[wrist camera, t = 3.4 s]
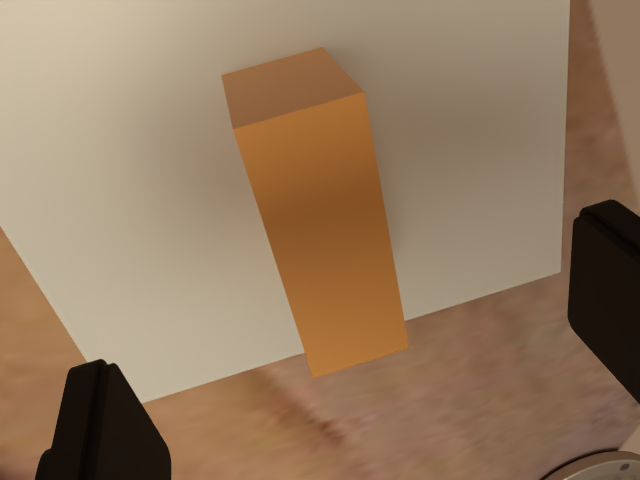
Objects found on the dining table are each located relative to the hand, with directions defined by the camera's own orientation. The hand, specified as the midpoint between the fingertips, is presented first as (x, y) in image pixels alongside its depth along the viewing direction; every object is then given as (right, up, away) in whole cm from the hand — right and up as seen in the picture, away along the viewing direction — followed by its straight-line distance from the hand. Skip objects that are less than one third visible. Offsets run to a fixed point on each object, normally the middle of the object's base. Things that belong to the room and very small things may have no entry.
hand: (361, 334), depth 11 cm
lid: (-2, +5, +9) cm, 10 cm away
